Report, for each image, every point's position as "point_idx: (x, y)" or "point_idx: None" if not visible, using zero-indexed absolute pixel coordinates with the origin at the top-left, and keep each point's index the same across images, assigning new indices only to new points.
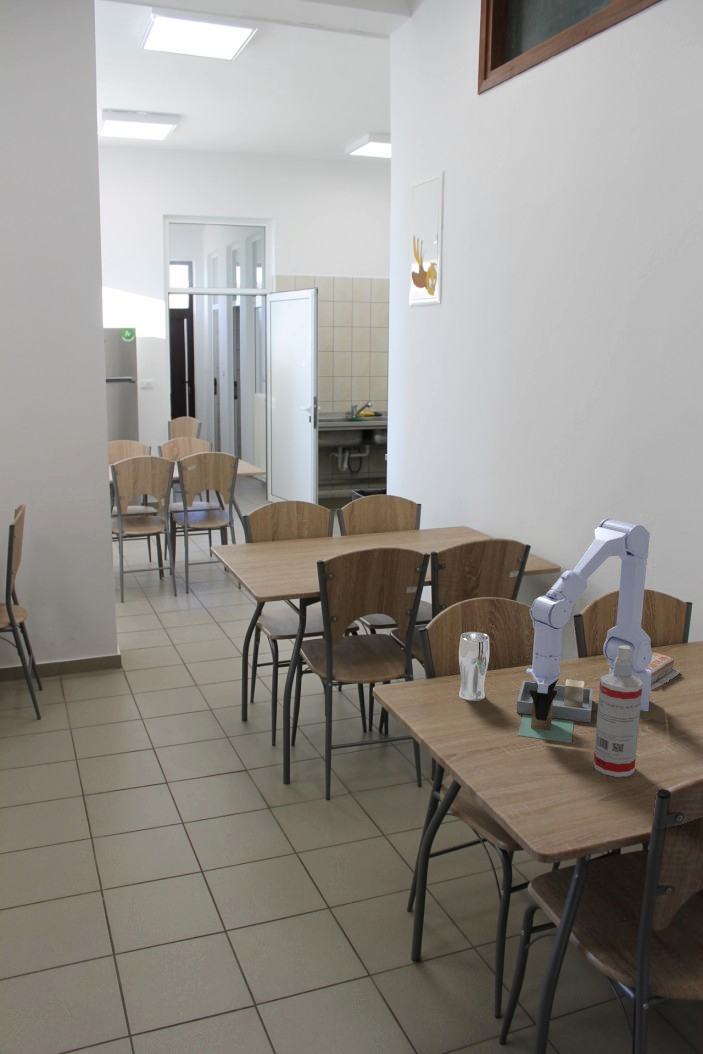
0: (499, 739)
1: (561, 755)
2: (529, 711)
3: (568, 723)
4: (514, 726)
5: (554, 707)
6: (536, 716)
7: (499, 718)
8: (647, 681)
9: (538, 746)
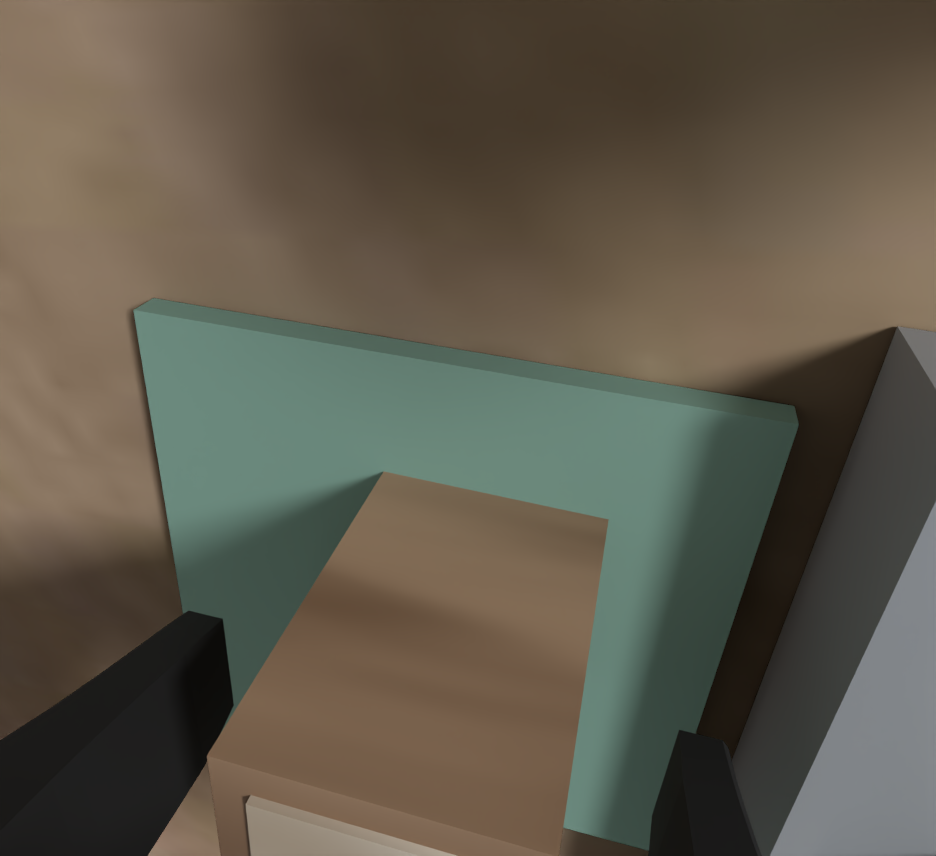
0: (11, 69)
1: (13, 612)
2: (849, 530)
3: (595, 805)
4: (459, 276)
5: (763, 846)
6: (155, 638)
7: (716, 41)
8: None
9: (69, 477)
